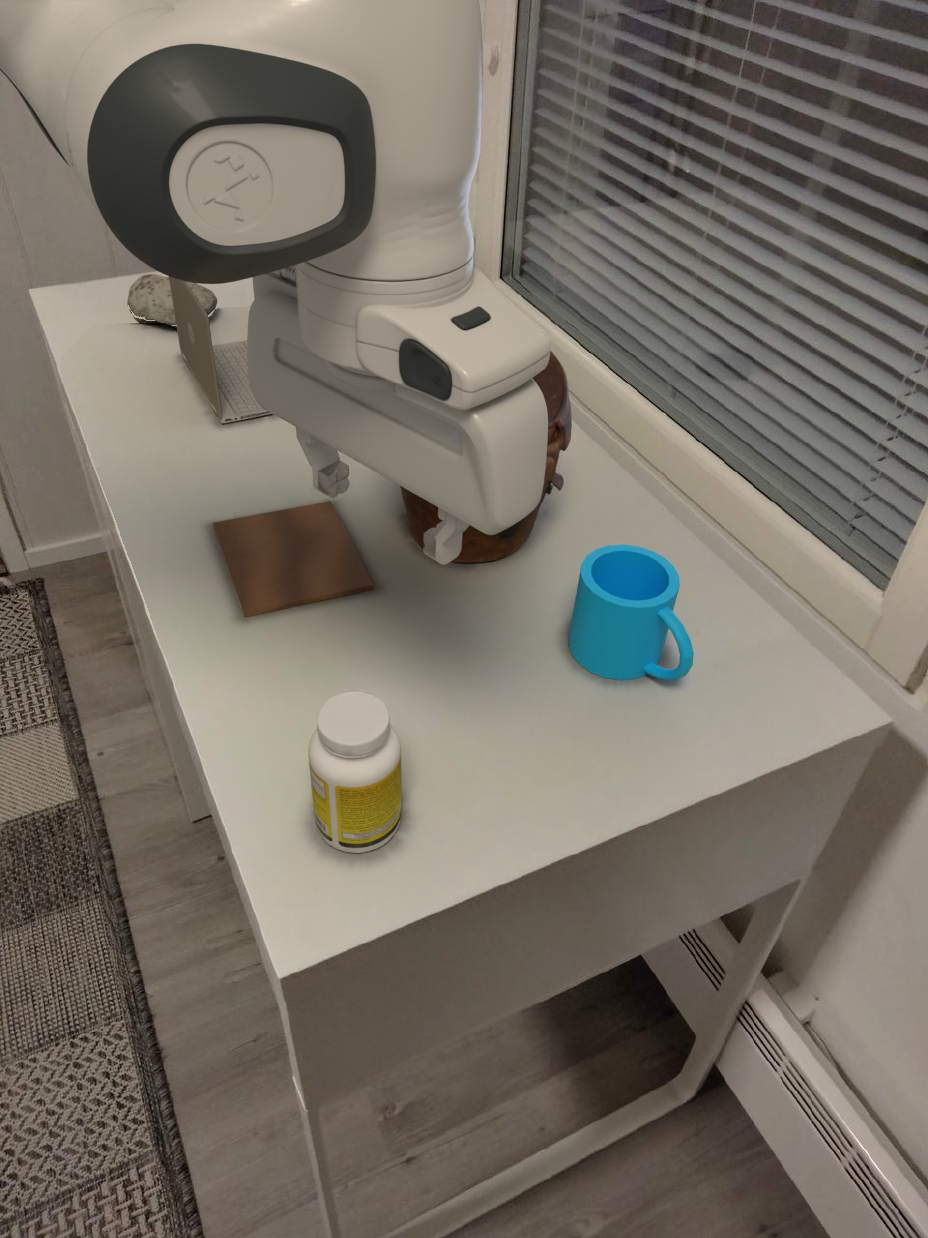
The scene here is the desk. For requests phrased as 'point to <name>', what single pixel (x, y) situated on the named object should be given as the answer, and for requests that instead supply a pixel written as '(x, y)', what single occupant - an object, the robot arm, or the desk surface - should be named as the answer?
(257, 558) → the brown wooden coaster
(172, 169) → the robot arm
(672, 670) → the mug
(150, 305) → the decorative stone
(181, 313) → the laptop
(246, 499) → the desk surface
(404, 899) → the desk surface
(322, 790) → the pill bottle
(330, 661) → the desk surface
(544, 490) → the case
